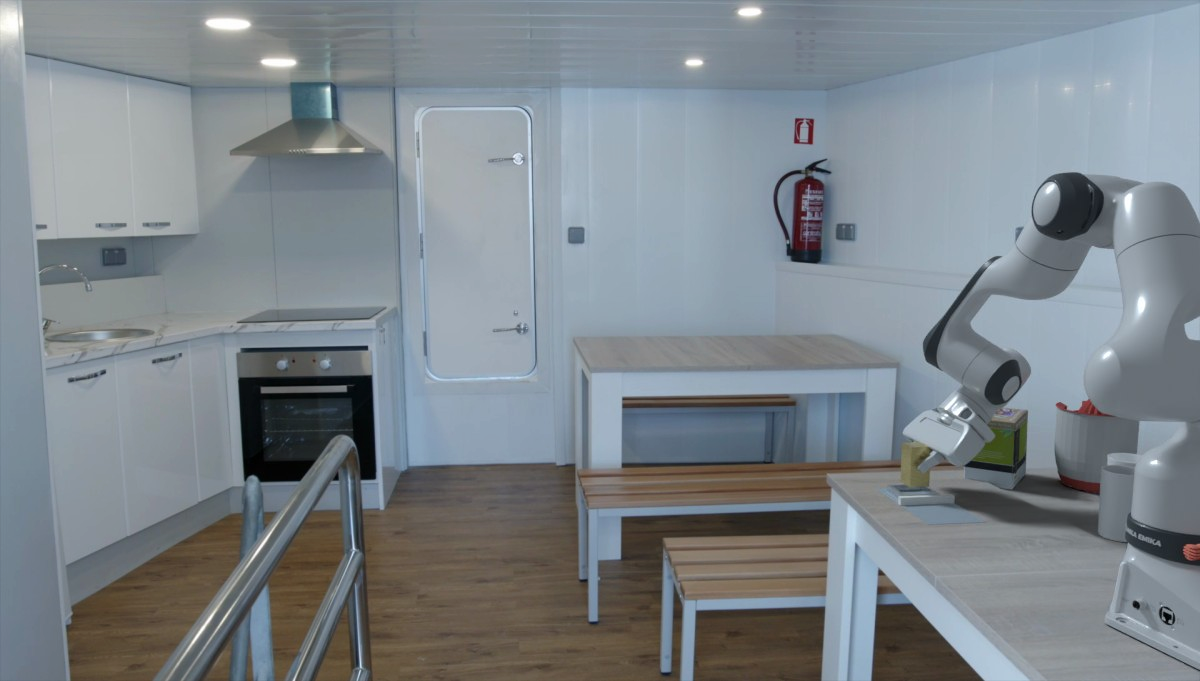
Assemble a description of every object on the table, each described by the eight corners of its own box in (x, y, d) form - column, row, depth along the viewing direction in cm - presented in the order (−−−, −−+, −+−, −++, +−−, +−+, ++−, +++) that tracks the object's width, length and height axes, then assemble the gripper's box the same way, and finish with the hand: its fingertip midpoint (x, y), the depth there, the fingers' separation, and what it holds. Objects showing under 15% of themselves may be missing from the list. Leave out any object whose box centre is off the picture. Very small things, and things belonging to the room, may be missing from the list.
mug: (1141, 545, 148) (1146, 477, 147) (1096, 538, 151) (1101, 472, 150) (1139, 528, 157) (1145, 463, 155) (1096, 522, 160) (1101, 458, 159)
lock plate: (986, 527, 157) (986, 513, 157) (928, 529, 156) (929, 516, 156) (925, 491, 179) (926, 479, 179) (875, 493, 178) (875, 481, 177)
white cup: (1094, 502, 172) (1098, 453, 171) (1131, 501, 173) (1135, 452, 171) (1122, 515, 164) (1126, 463, 163) (1161, 513, 165) (1165, 462, 164)
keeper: (941, 500, 169) (942, 494, 169) (904, 502, 168) (904, 496, 168) (922, 489, 177) (922, 483, 177) (886, 490, 176) (886, 485, 176)
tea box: (978, 467, 197) (981, 403, 195) (1026, 474, 191) (1030, 409, 190) (961, 483, 185) (965, 415, 183) (1012, 491, 179) (1017, 421, 177)
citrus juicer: (1087, 471, 194) (1094, 383, 191) (1154, 494, 177) (1162, 398, 174) (1027, 476, 190) (1033, 386, 187) (1090, 500, 173) (1097, 401, 171)
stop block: (929, 486, 171) (931, 446, 170) (909, 487, 170) (911, 447, 169) (919, 480, 175) (920, 441, 174) (900, 481, 174) (902, 442, 173)
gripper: (925, 396, 181) (878, 443, 181) (979, 416, 161) (927, 469, 161) (944, 416, 183) (898, 463, 183) (1000, 439, 162) (949, 492, 162)
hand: (912, 466), depth 172 cm, fingers closed on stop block, 4 cm apart
